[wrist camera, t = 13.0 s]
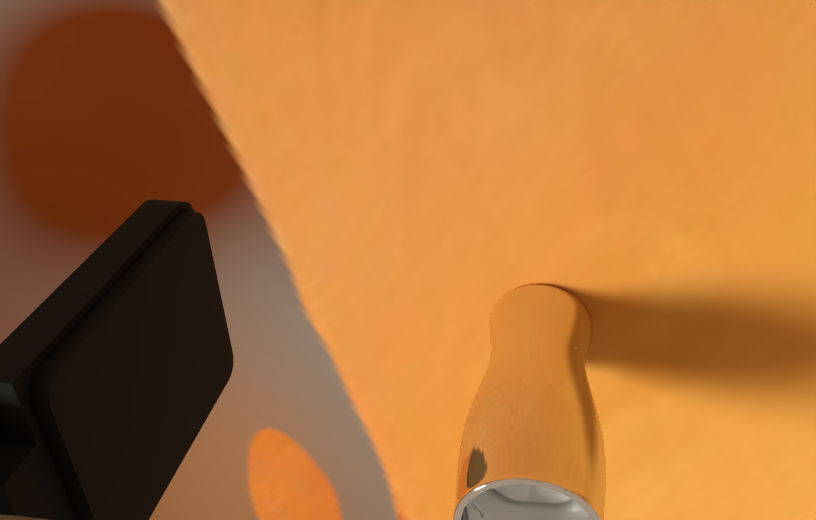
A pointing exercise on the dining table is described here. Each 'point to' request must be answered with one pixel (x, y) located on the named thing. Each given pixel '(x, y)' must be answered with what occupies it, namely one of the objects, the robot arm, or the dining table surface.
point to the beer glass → (534, 417)
